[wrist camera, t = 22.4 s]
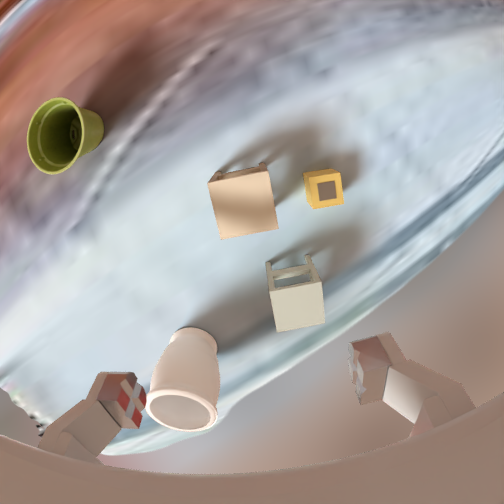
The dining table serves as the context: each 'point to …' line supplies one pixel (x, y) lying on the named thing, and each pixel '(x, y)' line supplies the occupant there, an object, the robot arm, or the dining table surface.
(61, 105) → the plant pot
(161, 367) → the jar
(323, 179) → the letter block
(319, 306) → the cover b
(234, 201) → the tan square stool
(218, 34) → the dining table surface
